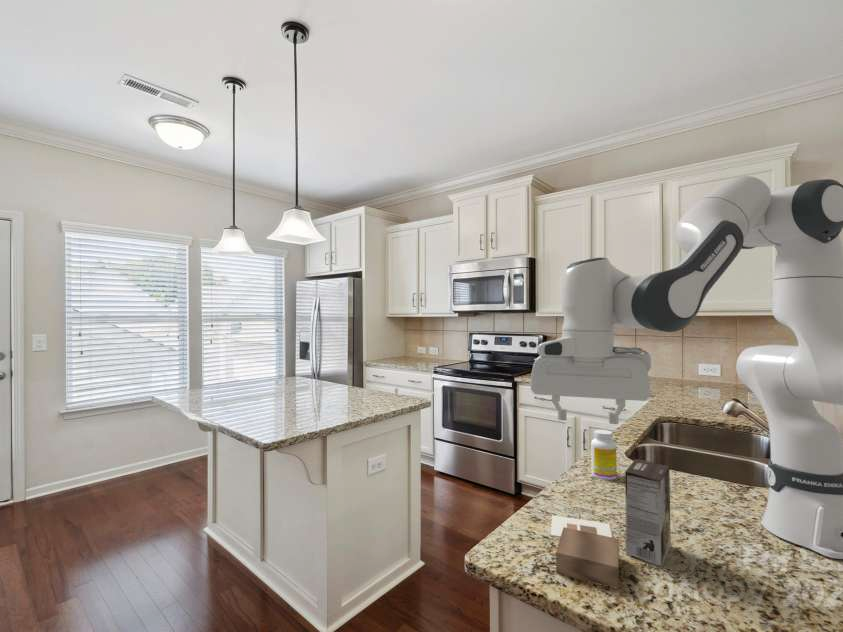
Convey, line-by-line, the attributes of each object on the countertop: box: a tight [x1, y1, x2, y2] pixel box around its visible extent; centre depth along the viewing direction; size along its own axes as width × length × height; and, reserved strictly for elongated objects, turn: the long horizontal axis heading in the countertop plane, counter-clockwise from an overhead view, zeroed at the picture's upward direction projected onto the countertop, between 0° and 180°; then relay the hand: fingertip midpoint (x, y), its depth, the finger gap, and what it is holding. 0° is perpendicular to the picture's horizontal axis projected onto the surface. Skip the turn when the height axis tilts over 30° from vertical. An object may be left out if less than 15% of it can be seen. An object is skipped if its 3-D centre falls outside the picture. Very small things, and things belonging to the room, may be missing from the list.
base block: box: [555, 527, 620, 589], centre depth 75 cm, size 10×10×4 cm
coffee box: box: [624, 458, 671, 567], centre depth 80 cm, size 9×6×16 cm
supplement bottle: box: [590, 429, 618, 481], centre depth 118 cm, size 7×7×13 cm
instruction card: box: [550, 515, 613, 538], centre depth 88 cm, size 12×9×1 cm
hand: (587, 421), depth 76 cm, fingers open, 7 cm apart
